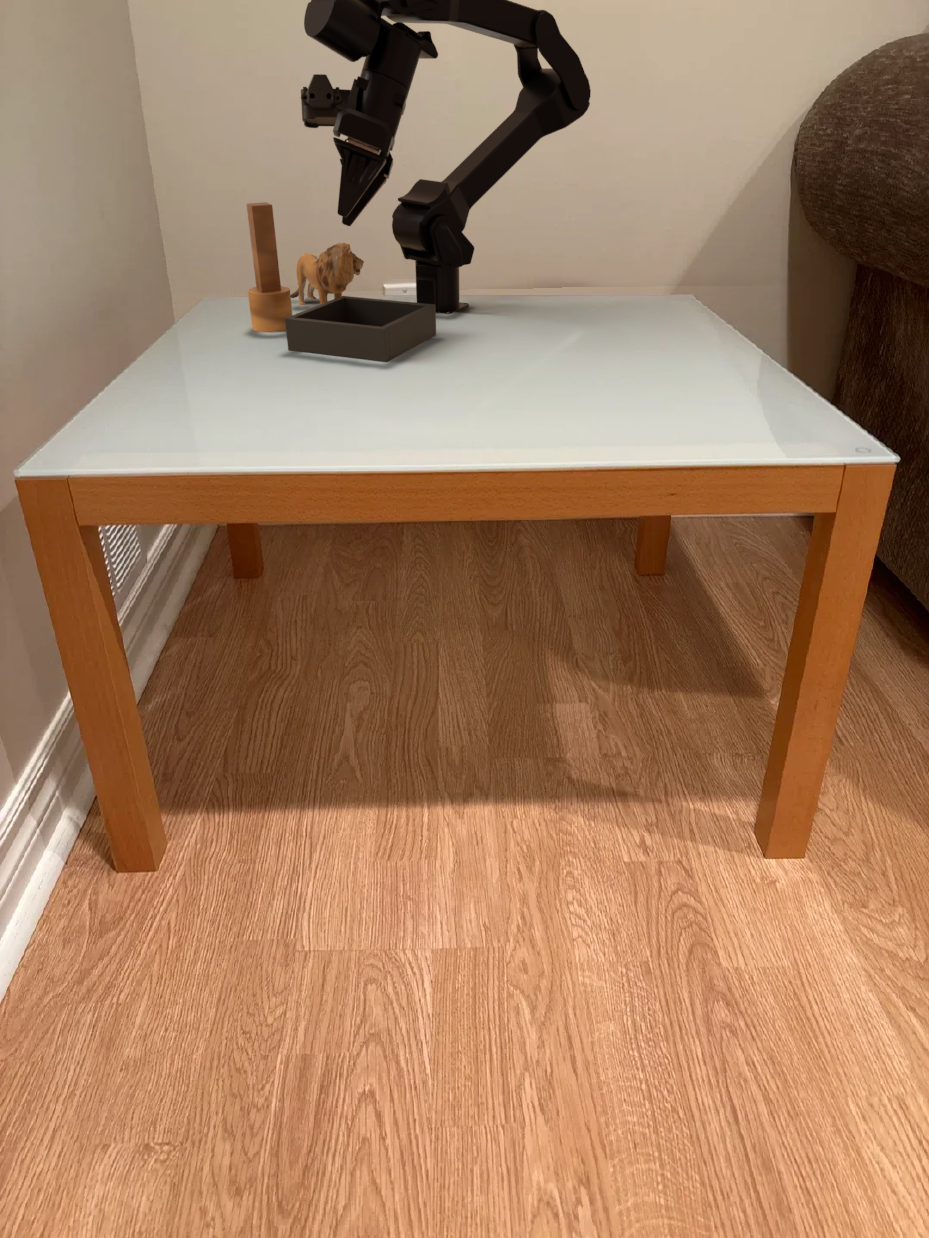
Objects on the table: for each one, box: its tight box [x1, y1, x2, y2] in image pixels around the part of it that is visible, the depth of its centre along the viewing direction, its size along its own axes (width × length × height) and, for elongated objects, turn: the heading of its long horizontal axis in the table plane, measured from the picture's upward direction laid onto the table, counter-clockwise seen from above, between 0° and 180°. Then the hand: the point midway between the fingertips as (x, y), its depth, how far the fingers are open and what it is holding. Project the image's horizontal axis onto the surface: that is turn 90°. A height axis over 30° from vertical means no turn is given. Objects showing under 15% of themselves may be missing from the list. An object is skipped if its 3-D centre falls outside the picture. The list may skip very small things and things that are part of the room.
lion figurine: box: [290, 242, 365, 306], centre depth 121 cm, size 15×5×9 cm, turn 44°
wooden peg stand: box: [246, 202, 293, 333], centre depth 110 cm, size 5×5×14 cm
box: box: [285, 295, 437, 363], centre depth 106 cm, size 13×13×4 cm
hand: (343, 220), depth 109 cm, fingers open, 9 cm apart
